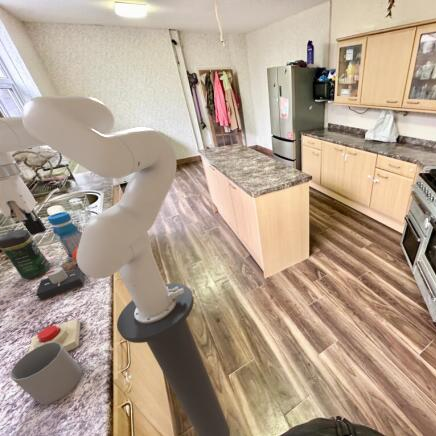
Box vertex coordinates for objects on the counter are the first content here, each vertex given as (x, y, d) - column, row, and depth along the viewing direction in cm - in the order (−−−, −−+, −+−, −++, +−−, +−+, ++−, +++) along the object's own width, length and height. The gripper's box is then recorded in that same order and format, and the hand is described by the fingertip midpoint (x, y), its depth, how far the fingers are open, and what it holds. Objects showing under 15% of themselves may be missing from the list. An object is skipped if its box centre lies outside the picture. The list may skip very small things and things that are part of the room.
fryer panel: (84, 272, 94) (80, 266, 93) (83, 284, 88) (79, 278, 86) (45, 286, 88) (40, 280, 87) (40, 300, 82) (35, 294, 80)
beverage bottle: (81, 259, 103) (57, 219, 93) (63, 259, 103) (38, 220, 94) (96, 248, 110) (75, 210, 101) (80, 248, 111) (57, 211, 101)
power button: (60, 326, 67) (57, 322, 66) (59, 336, 64) (55, 332, 63) (42, 334, 65) (38, 330, 64) (39, 345, 62) (35, 341, 61)
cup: (83, 360, 62) (64, 335, 57) (80, 388, 55) (58, 363, 51) (41, 380, 57) (16, 356, 53) (32, 413, 51) (3, 388, 47)
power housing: (80, 322, 72) (74, 313, 71) (78, 346, 65) (71, 337, 63) (37, 341, 67) (28, 332, 65) (29, 369, 60) (20, 360, 58)
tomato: (92, 253, 106) (85, 240, 103) (102, 256, 104) (95, 243, 101) (73, 264, 100) (64, 251, 96) (83, 267, 97) (75, 253, 94)
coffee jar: (47, 274, 95) (19, 235, 86) (20, 282, 91) (-11, 242, 83) (53, 262, 102) (28, 225, 94) (28, 269, 99) (0, 231, 90)
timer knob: (68, 273, 89) (62, 265, 87) (67, 279, 86) (61, 270, 84) (53, 278, 87) (46, 270, 85) (51, 285, 84) (44, 276, 82)
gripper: (-12, 169, 64) (27, 227, 73) (-35, 182, 53) (14, 248, 62) (25, 164, 68) (58, 219, 76) (12, 174, 57) (52, 237, 66)
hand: (39, 232), depth 69 cm, fingers closed
